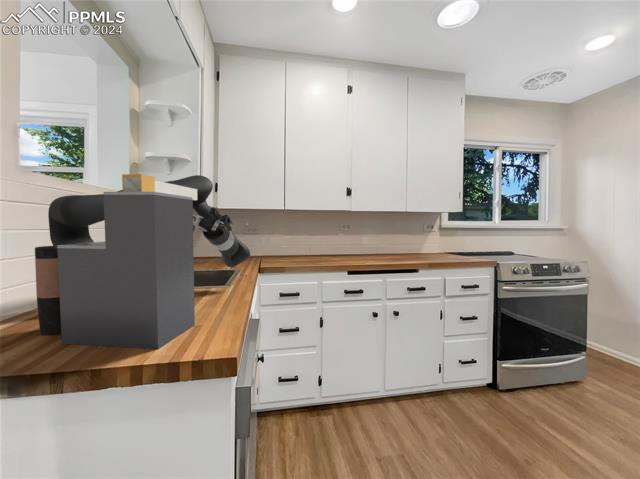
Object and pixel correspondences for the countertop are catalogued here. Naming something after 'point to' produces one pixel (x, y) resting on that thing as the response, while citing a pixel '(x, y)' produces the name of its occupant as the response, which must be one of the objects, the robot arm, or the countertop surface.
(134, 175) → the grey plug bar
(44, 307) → the travel mug
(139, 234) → the grey stepped block
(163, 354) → the countertop surface
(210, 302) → the countertop surface
